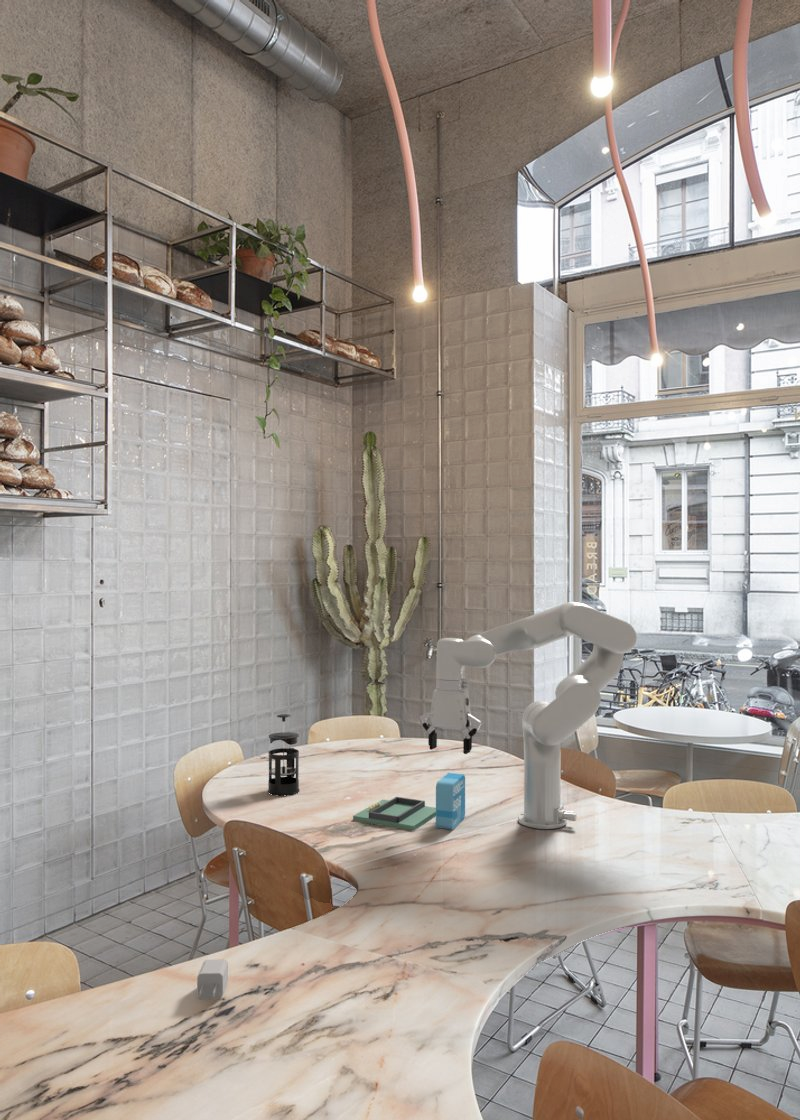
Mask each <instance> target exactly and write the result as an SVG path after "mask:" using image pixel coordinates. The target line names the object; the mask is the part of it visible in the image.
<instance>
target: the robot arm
mask: <svg viewBox="0 0 800 1120" xmlns="http://www.w3.org/2000/svg"><path fill="white" fill-rule="evenodd" d="M570 636H575V637H577V638H579V639H581V640H583V641H586V642H587V643H590V644H592V645H593V647H592V651H591V653H590V655H589V656H588V657H587V658H586V659H585V660H584V661H583V662H582V663H581V664H580V665H579V666H578V667H577V668H575V669H574V670H573V671H572V672H571V673H570V674H568V675H567V676H566V677H565V678H563V679H562V680H561V681H560V682H559V683H558V684H557V686H556V688H555V691H554V696H555V699H553V700H552V701H551V702H548V701H545V700H536V701H533V702H531V703H530V704H528V706H527V707H526V708H525V709H524V711H523V715H522V723H521V724H522V725H521V726H522V727H521V728H522V736H523V812H520V813H519V814H518V816H517V821H518V822H519V823H520V824H521V825H522V826H524V827H528V828H532V829H537V830H538V829H539V830H555V829H559V828H563V827H565V826H566V825H567V821H571V822H576V821H577V813H575V811H572V810H566V809H565V806H564V805H565V804H562V803H561V800H562V799H561V785H562V784H561V781H562V780H561V760H562V759H561V757H562V756H561V755H562V754H561V743H562V742H564V741H566V740H567V739H568V738H569V737H570V736H571V735H573V734H574V733H575V732H577V731H578V730H579V729H580V728H582V726H583V725H585V724H586V723H587V722H588V721H589V720H590V719H592V717H593V716H595V714H596V713H597V712H598V710H599V708H600V705H601V702H602V701H601V699H602V698H601V693H600V692H602V691H603V690H604V689H605V688H606V687H607V686H608V685H609V684H611V682H612V681H613V680H615V678H616V677H617V675H618V674H619V673H620V671H621V669H622V665H623V662H624V661H623V660H624V655H625V654H626V653H628V652H630V651H631V650H632V649H633V648H634V647H635V645H636V644H637V632H636V630H635V627H633V626H632V625H631V624H630V623H629V622H627V621H626V620H625V621H624V620H623V619H620V618H617V617H615V616H613V615H610V614H607V613H605V612H603V611H600V610H598V609H596V608H593V607H591V606H589V605H587V604H585V603H581V602H576V601H568V602H565V603H561V604H558V605H556V606H554V607H550V608H548V609H545V610H543V611H540V612H538V613H535V614H533V615H532V614H531V615H530V616H526V617H523V618H521V619H517V620H515V621H512V622H510V623H506V624H503V625H499V626H496V627H493V628H491V629H488V630H486V631H483V632H480V633H478V634H475V635H472V636H470V637H469V638H468V639H466V640H463V639H462V638H457V637H456V638H455V637H445V638H444V637H443V638H439V639H438V641H437V643H436V669H435V670H436V673H435V674H436V678H435V679H436V680H435V681H436V682H435V683H436V685H435V686H436V687H435V689H434V690H433V694H432V699H431V704H430V705H431V706H430V710H429V711H428V712H425V713H424V714H421V715H420V716H419V721H421V725H422V727H423V729H424V730H425V731H426V734H427V735H428V737H427V738H428V746H429V750H434V749H436V748H437V746H438V734H437V732H436V731H437V729H440V730H441V729H442V730H451V731H461V733H462V734H463V735H464V738H463V740H462V741H463V745H462V746H463V747H462V748H463V749H462V750H463V752H462V753H463V754H464V755H467V754H469V753H471V751H472V749H473V747H472V746H473V737H474V736H475V735H476V734H477V733H478V732H479V730H480V728H481V726H482V724H483V721H481V720H480V719H478V718H477V717H475V716H473V715H472V712H471V710H472V709H471V702H470V695H469V691H468V690H466V689H467V688H468V689H469V688H470V687H471V685H470V682H467V680H466V667H471V668H478V669H481V668H483V669H484V668H487V667H489V666H491V665H492V664H493V663H494V662H495V660H496V657H498V656H501V655H504V654H507V653H511V652H516V651H529V650H534V649H538V648H541V647H544V646H547V645H548V644H552V643H554V642H556V641H559V640H563V639H566V638H568V637H570ZM428 718H430V721H428ZM429 722H430V723H429ZM472 724H473V728H472V729H471V728H470V727H471V726H472ZM564 825H565V826H564Z"/></svg>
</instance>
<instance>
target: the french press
mask: <svg viewBox="0 0 800 1120" xmlns="http://www.w3.org/2000/svg"><path fill="white" fill-rule="evenodd" d="M291 716H292V715H291V714H289V713H288V714H287V713H281V714H278V715H276V717H277V718H282V719H281V722H282V723H283V724H282V732H274V733H270V734H269V735H268V738H269V744H273V743H274V742H276V741H282V747H281V748H275V749H274V748H273V749H270V750H269V751H268V784H267V785H268V786H267V787H268V788H267V789H268V790H267V794H268V793H270V794H272V795H271V796H273V795H278V796H277V797H288V796H287V795H291V796H294V794H295V795H297V794H299V793H300V787H299V785H300V783H299V782H300V780H299V765H300V764H299V761H300V760H299V756H300V755H299V754H300V750H298V749H297V748H294V747H285V744H287V745H290V746H292V745H296V744H297V743H298V738H299V736H300V735H299V733H296V732H292V731H291V732H288V731H286V732H285V722H286V718H291ZM281 753H282V754H281ZM285 753H286V754H285ZM272 760H274V768H273V767H272V766H273V761H272ZM285 761H286V766H285ZM281 763H282V764H281ZM281 765H282V766H281ZM272 776H274V777H273V778H272ZM298 792H299V793H298ZM296 793H297V794H296ZM270 794H269V795H270ZM284 795H286V796H284Z"/></svg>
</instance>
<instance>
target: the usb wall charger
mask: <svg viewBox="0 0 800 1120" xmlns="http://www.w3.org/2000/svg"><path fill="white" fill-rule="evenodd" d="M228 981H229V962H228V960H227V959H225V958H224V959H222V958H220V959H205V960H204V961H203V962H202V965H201V967H200V969H199V971H198V974H197V977H196V995H197V998H198V999H200V1000H202V999H203V1000H204V999H205V1000H206V999H207V1000H208V999H215V1000H217V999H221V998H222V997H223V995H224V993H225V989H226V987H227V984H228Z"/></svg>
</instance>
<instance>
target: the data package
mask: <svg viewBox="0 0 800 1120" xmlns="http://www.w3.org/2000/svg"><path fill="white" fill-rule="evenodd" d="M435 808H436V816H435V827H436V828H437V829H443V830H452V831H454V830H455V829H456V828H457V826H459V824H461V823H462V821H463V820H464V819H465V817H466V776H465V774H463V773H454V772H447V773H446V774H445V775H444V776H443V777H441V778H440V779H439V780H438V781H437V782H436V785H435Z"/></svg>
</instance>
